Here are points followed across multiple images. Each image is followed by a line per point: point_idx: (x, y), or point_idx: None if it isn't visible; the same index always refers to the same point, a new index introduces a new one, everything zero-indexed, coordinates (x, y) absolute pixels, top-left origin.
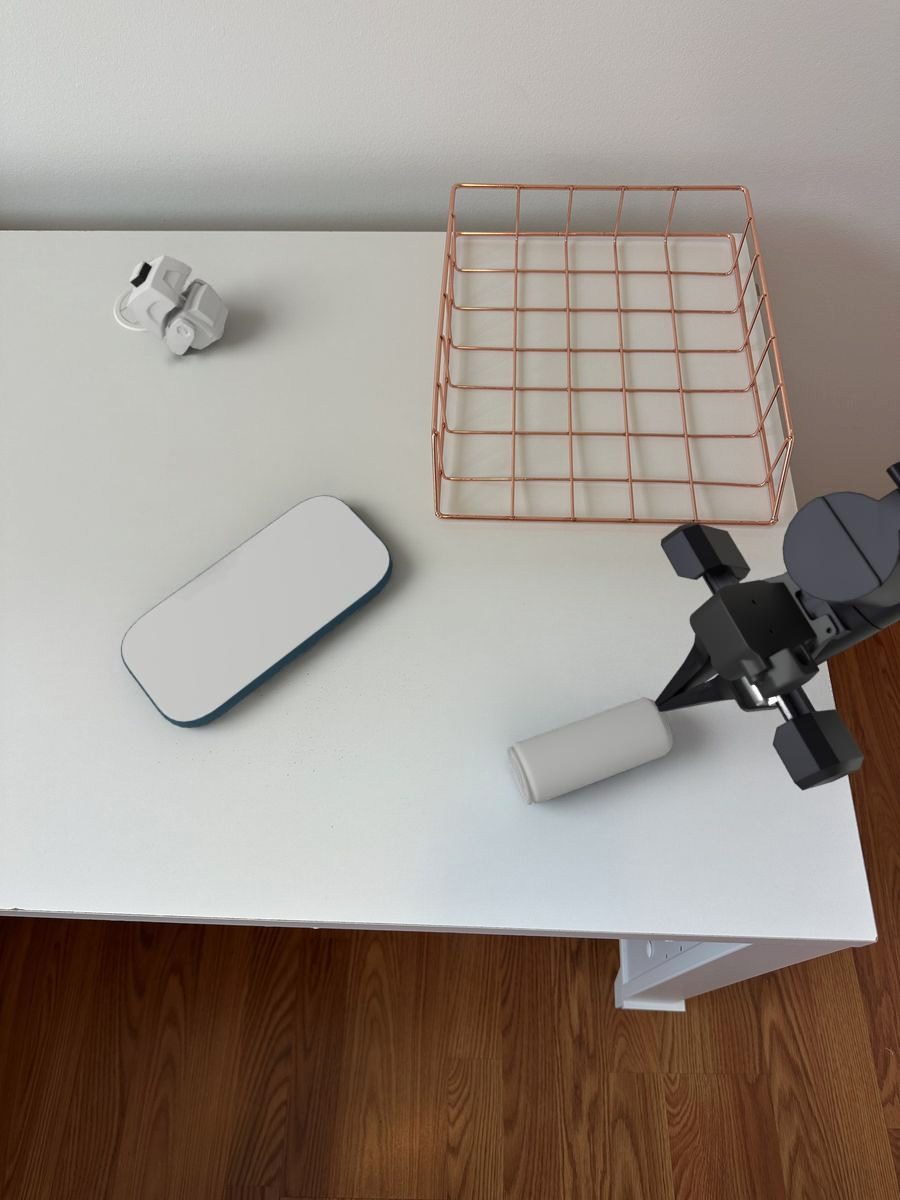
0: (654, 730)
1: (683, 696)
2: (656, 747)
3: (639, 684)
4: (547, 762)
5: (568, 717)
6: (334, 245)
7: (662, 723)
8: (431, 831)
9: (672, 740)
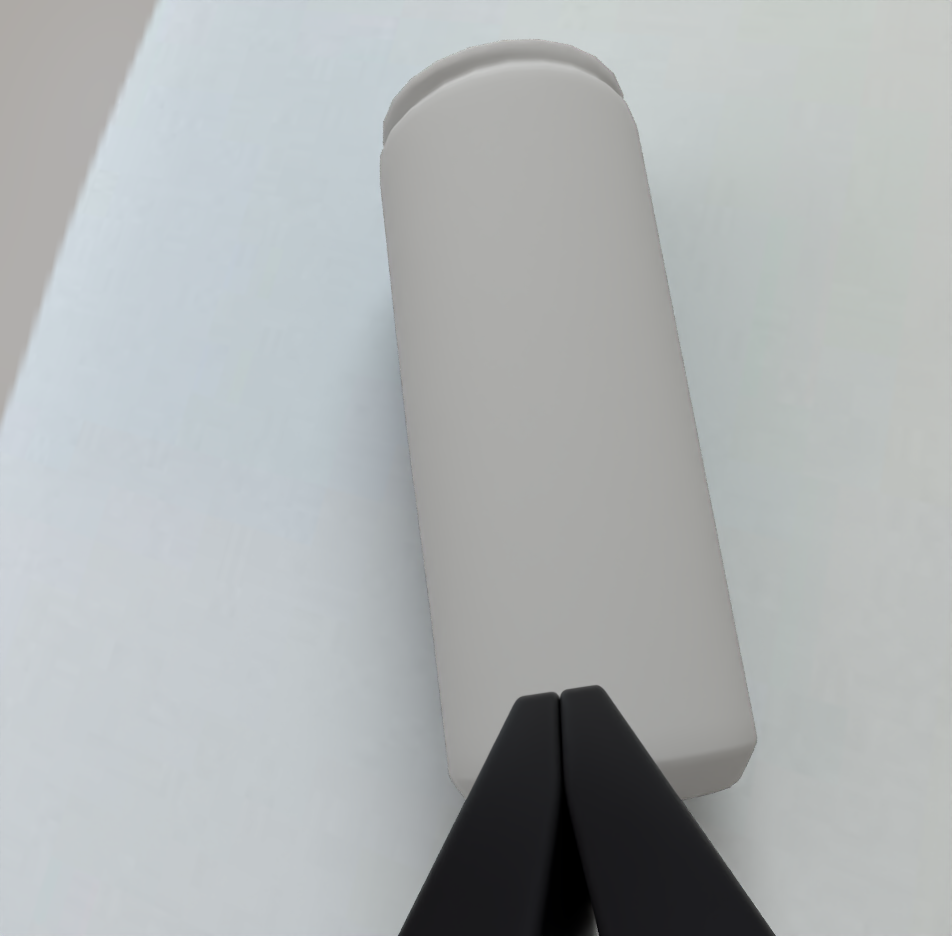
0: None
1: (505, 899)
2: (454, 708)
3: (856, 790)
4: (480, 154)
5: (743, 430)
6: None
7: None
8: None
9: None
